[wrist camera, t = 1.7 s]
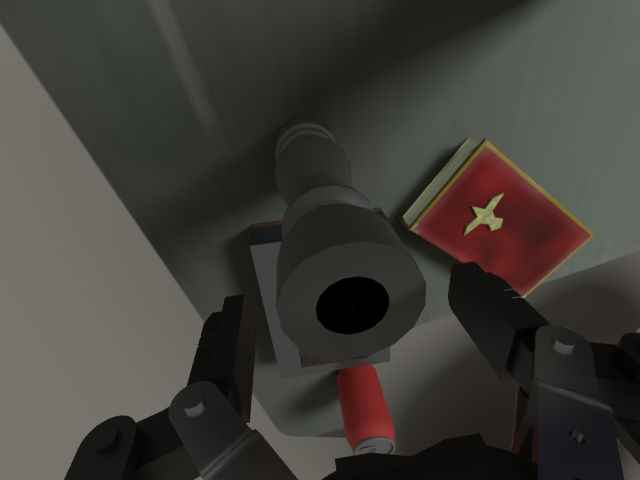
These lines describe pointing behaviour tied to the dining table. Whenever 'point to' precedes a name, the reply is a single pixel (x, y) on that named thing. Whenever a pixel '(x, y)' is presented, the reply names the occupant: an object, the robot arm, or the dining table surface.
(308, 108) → the dining table surface
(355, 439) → the beer can
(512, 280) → the hardcover book
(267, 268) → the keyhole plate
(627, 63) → the dining table surface
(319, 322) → the candle holder
